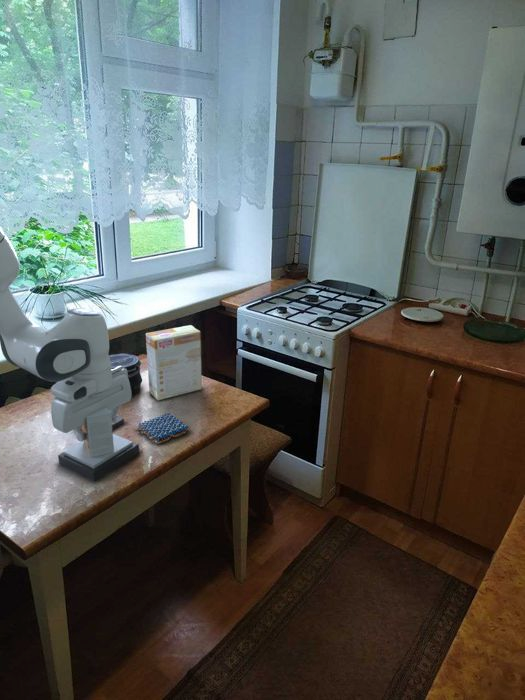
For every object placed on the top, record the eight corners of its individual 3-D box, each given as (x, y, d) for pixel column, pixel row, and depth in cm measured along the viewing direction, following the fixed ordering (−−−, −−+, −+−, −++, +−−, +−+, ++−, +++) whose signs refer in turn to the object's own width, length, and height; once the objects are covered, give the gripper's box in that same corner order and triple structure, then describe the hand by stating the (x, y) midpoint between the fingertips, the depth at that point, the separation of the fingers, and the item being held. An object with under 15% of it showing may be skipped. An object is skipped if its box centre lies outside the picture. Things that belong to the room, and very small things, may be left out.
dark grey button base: (95, 439, 127) (93, 429, 125) (76, 431, 130) (75, 421, 129) (124, 423, 135) (123, 413, 133) (106, 416, 138) (105, 406, 137)
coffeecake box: (192, 381, 160) (190, 324, 153) (202, 389, 155) (201, 331, 148) (148, 391, 152) (144, 332, 145) (157, 401, 147) (154, 339, 140)
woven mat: (169, 417, 138) (169, 410, 138) (191, 432, 131) (191, 425, 130) (135, 429, 132) (135, 422, 131) (157, 446, 125) (156, 439, 124)
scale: (94, 481, 111) (93, 469, 109) (59, 464, 116) (57, 452, 115) (139, 452, 122) (138, 441, 121) (105, 438, 127) (104, 426, 126)
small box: (83, 441, 120) (78, 402, 116) (107, 436, 122) (103, 398, 118) (90, 458, 113) (85, 418, 109) (114, 452, 116) (111, 412, 112)
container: (115, 378, 161) (112, 350, 157) (150, 384, 157) (148, 355, 153) (91, 395, 149) (87, 364, 146) (128, 402, 146) (126, 371, 142)
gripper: (116, 360, 121) (120, 410, 126) (43, 390, 105) (51, 446, 110) (135, 366, 118) (139, 417, 123) (63, 398, 102) (70, 456, 107)
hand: (97, 431), depth 116 cm, fingers closed on small box, 7 cm apart
